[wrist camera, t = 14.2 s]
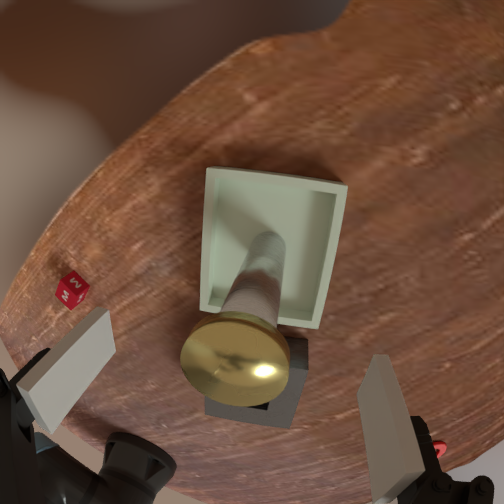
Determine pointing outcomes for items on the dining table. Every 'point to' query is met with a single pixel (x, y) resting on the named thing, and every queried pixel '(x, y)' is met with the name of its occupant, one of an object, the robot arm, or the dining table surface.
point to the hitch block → (281, 406)
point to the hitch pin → (243, 334)
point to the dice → (71, 290)
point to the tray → (274, 220)
